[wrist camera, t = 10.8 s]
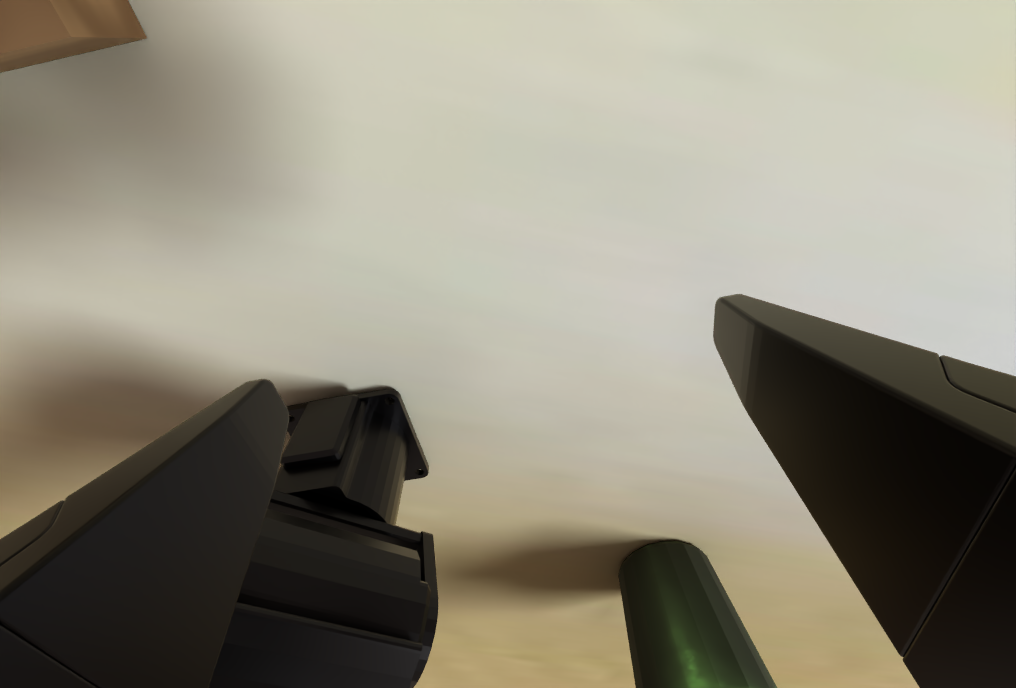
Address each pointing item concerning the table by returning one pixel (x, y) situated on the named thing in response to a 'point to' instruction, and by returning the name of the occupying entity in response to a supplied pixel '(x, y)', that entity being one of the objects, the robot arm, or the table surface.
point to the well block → (62, 29)
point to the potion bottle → (685, 623)
